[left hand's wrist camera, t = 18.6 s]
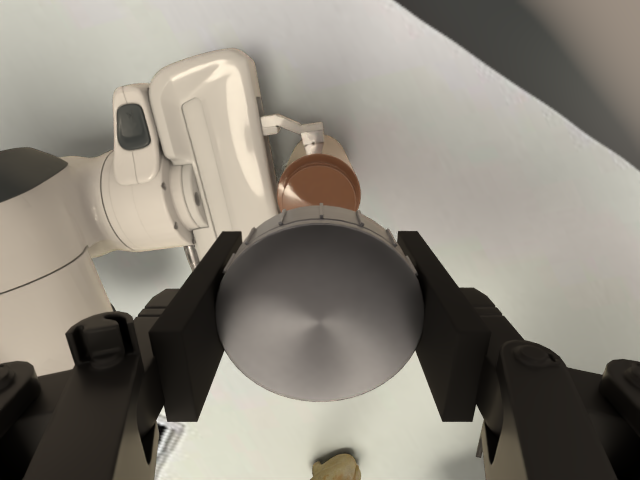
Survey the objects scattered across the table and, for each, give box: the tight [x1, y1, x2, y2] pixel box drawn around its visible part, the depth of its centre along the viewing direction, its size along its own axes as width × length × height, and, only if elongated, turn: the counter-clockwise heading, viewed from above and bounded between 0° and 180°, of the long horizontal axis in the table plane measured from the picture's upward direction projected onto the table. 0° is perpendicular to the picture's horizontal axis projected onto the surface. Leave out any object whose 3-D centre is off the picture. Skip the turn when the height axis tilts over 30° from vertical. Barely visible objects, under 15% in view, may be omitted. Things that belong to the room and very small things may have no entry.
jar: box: [277, 134, 361, 213], centre depth 29 cm, size 6×6×15 cm
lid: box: [215, 203, 425, 402], centre depth 11 cm, size 6×6×2 cm
